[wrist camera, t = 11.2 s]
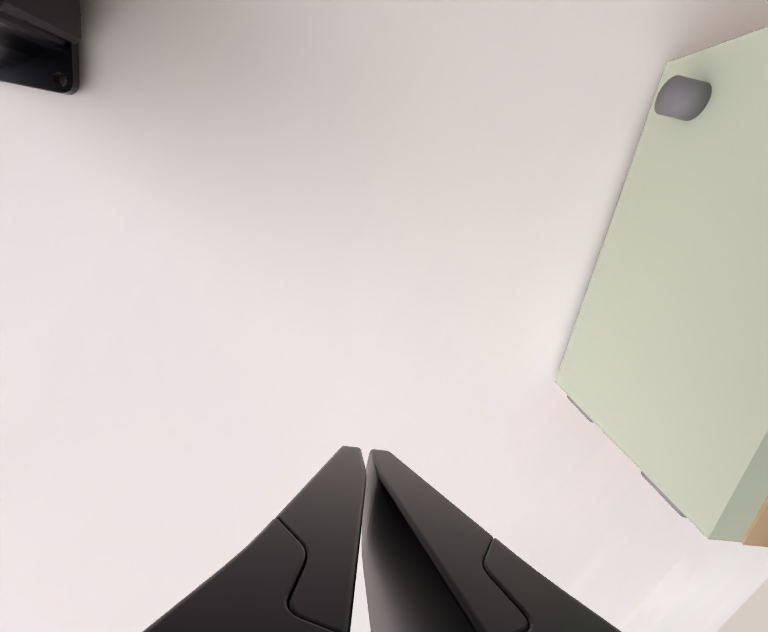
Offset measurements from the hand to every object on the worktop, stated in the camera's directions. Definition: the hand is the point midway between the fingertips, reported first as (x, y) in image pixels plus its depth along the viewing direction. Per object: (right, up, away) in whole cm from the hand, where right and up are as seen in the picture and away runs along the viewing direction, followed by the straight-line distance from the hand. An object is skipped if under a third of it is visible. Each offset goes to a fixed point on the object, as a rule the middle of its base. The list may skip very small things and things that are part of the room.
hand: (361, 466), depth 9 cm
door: (+12, +7, +12) cm, 18 cm away
